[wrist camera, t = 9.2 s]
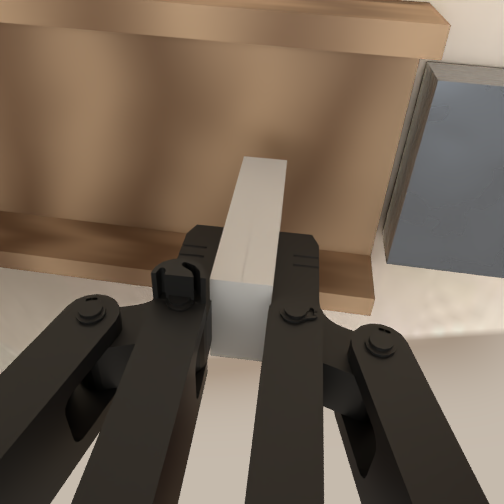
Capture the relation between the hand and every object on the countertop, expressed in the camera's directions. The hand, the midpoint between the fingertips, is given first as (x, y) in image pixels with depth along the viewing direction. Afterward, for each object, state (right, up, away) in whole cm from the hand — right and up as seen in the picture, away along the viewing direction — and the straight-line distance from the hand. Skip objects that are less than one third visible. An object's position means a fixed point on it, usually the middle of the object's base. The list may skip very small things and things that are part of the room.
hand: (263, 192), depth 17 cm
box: (-5, +4, +5) cm, 8 cm away
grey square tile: (+10, +1, +3) cm, 11 cm away
